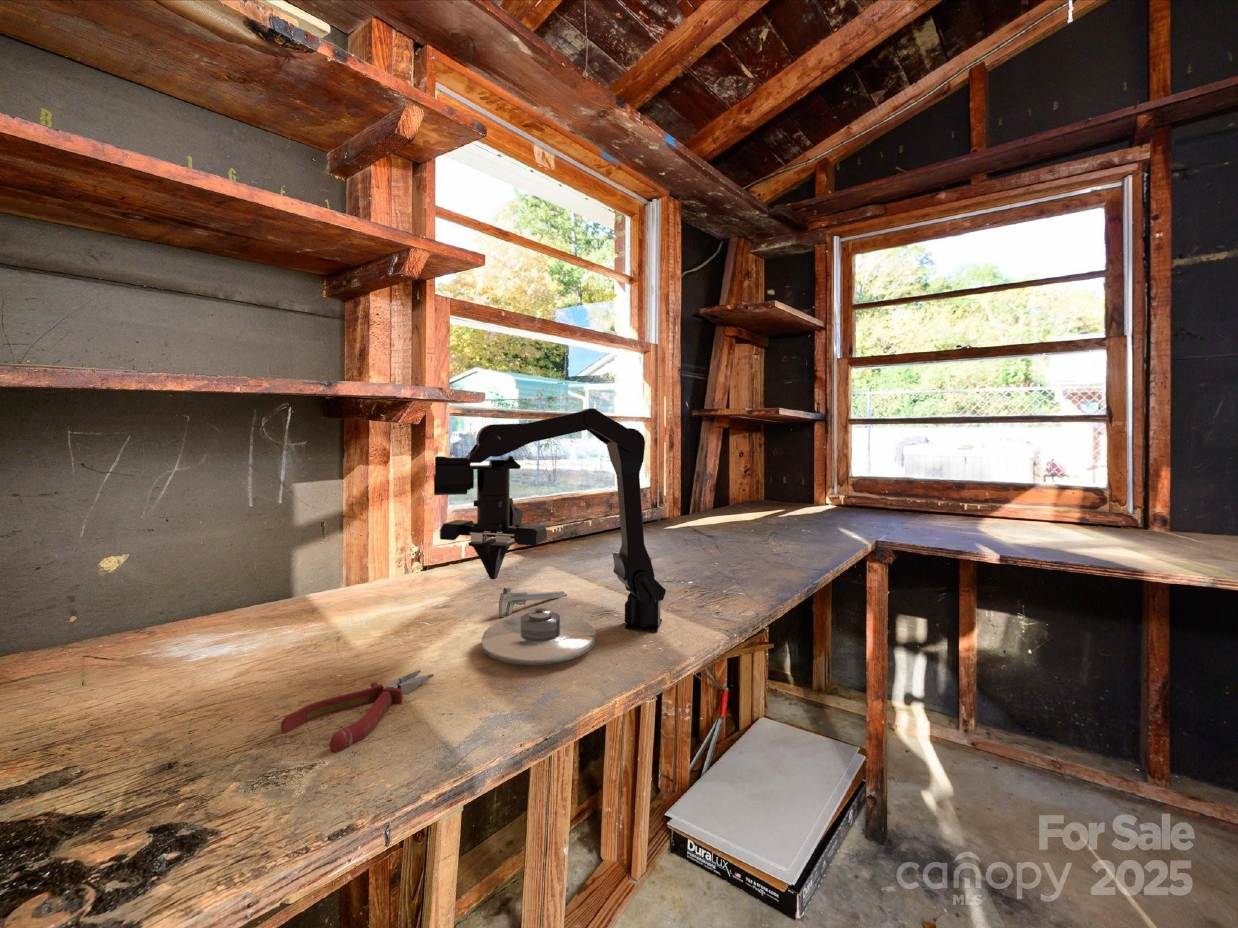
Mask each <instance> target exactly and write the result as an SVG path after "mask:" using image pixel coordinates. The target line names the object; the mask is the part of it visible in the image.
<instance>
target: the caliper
mask: <svg viewBox="0 0 1238 928" xmlns="http://www.w3.org/2000/svg"><path fill="white" fill-rule="evenodd" d="M512 590H513V589H512V587H507V588H506V587H503V589H502V592H501V593H500V596H499V599H498V617H499V618H504V617H505V616H507V617H509V616H511V614H512V612H513V610H514V607H515V604H516V605H519V606H521V605H524V606H525V605H526V603H527V602H528V601H529V602H530V601H537V600H538V601H541V600H552V599H553V600H554V599H561V598H564V597H566V596H565V595H567V596H568V593H566V592H565V591H563V590H557V591H541V592H527V591H512ZM560 597H561V598H560Z"/></svg>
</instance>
